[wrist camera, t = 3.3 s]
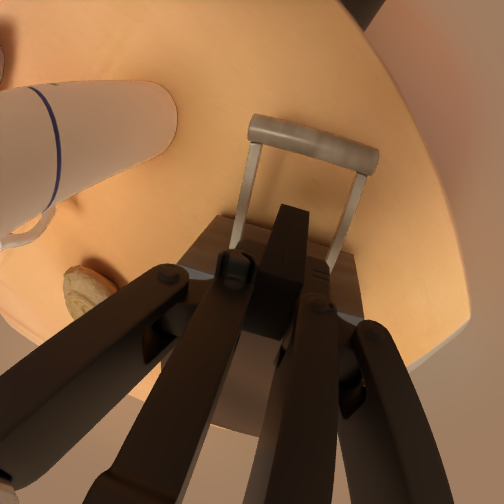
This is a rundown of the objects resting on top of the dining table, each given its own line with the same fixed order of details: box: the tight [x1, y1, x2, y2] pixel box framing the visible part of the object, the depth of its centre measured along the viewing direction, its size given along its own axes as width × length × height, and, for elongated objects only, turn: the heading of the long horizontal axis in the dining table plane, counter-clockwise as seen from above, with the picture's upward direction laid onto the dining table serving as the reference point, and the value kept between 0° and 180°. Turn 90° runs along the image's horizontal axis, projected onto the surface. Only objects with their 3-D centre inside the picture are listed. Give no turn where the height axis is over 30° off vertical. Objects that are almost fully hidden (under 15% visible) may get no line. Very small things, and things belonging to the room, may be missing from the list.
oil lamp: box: [63, 265, 118, 320], centre depth 31 cm, size 11×14×5 cm
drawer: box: [176, 114, 379, 326], centre depth 21 cm, size 22×11×8 cm, turn 168°
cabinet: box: [161, 330, 283, 437], centre depth 24 cm, size 15×13×10 cm
